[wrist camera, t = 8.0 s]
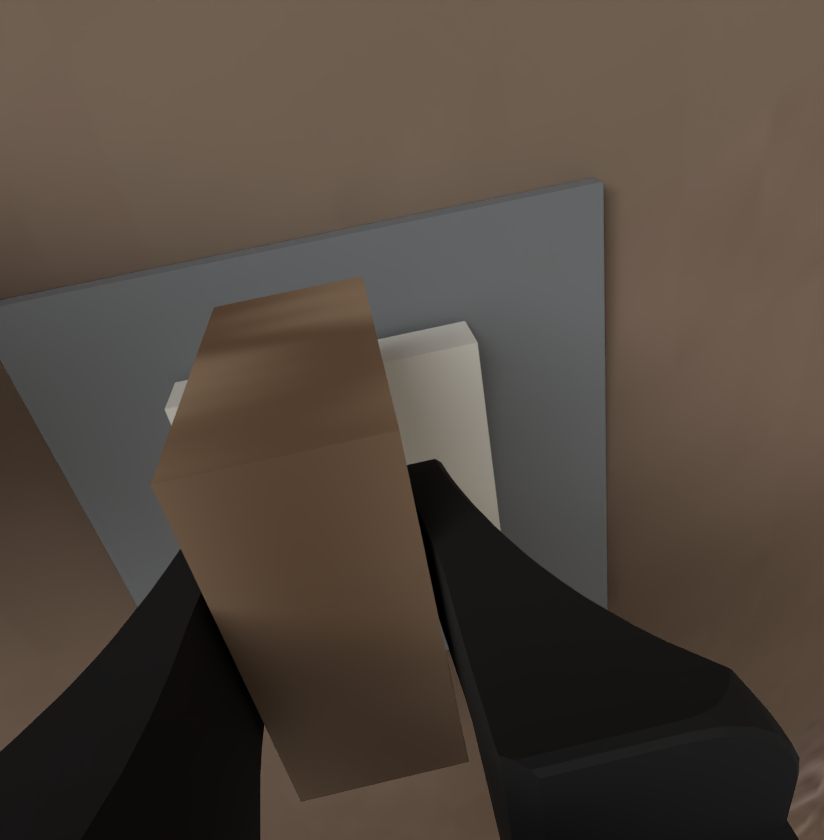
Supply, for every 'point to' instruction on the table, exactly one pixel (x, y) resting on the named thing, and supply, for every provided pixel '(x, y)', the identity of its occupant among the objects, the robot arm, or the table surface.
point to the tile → (435, 406)
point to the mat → (392, 315)
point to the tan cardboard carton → (312, 539)
